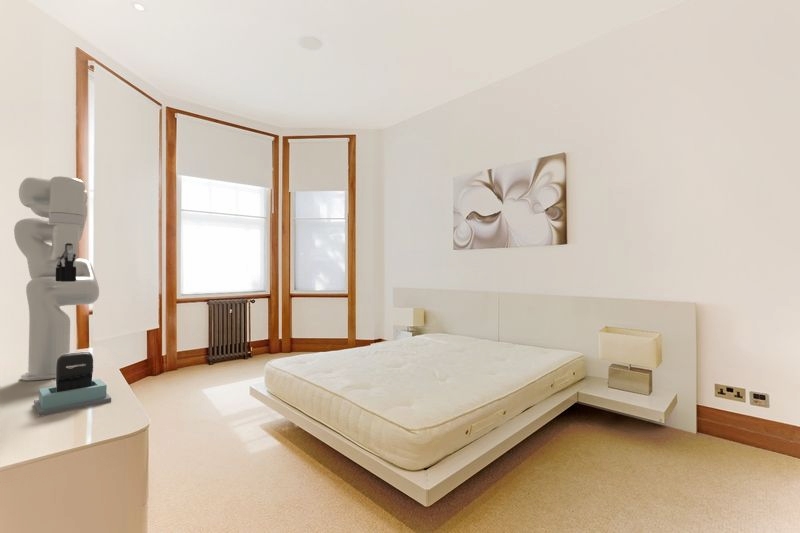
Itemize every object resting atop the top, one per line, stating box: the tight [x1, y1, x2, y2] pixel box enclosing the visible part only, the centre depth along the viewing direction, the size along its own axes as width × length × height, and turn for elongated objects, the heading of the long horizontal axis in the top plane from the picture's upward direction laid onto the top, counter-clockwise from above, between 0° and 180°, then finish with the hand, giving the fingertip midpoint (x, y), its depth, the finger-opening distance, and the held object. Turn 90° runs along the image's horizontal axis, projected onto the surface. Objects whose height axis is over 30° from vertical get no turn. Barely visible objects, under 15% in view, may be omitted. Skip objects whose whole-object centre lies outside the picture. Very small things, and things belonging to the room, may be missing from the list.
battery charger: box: [55, 350, 94, 392], centre depth 91 cm, size 7×4×11 cm, turn 136°
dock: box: [33, 378, 112, 418], centre depth 91 cm, size 12×13×4 cm
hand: (65, 281), depth 104 cm, fingers open, 9 cm apart
